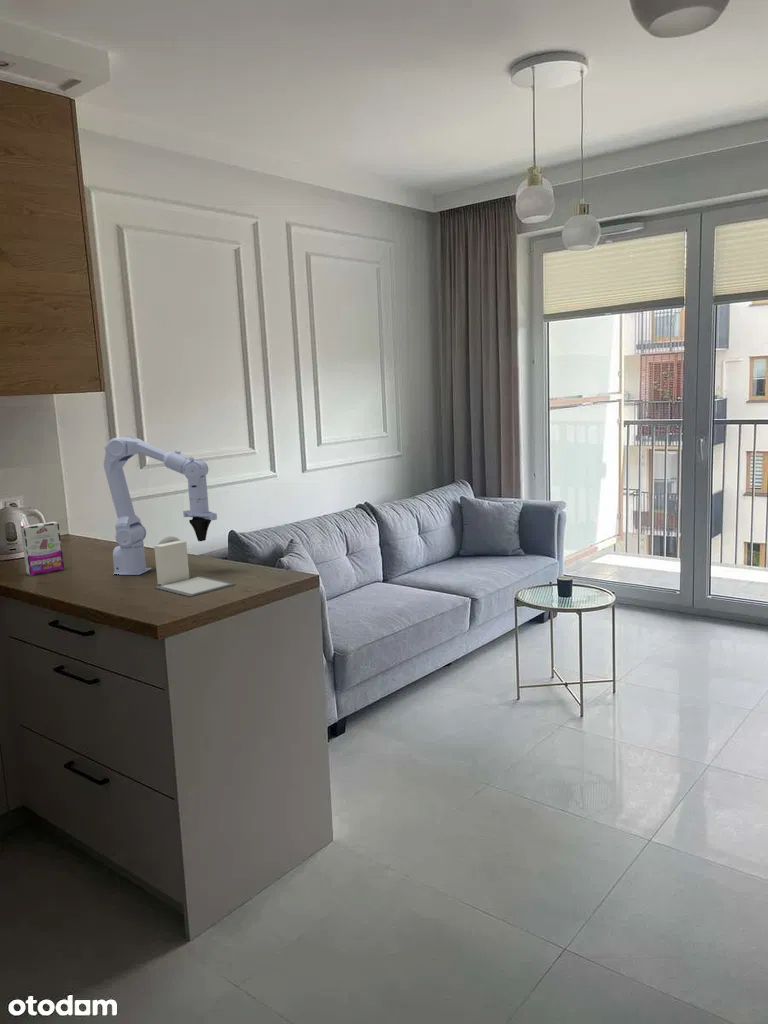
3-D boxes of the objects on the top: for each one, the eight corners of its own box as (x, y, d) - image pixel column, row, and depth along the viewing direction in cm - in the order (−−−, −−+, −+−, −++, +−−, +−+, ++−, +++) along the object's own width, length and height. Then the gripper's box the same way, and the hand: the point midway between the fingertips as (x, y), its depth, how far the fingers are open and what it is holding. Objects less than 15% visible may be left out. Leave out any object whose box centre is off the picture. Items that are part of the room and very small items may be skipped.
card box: (157, 584, 231) (153, 545, 229) (183, 577, 238) (179, 540, 236) (164, 585, 229) (160, 546, 227) (189, 579, 236) (186, 541, 234)
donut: (160, 569, 252) (158, 539, 250) (155, 567, 254) (152, 538, 253) (187, 563, 259) (184, 534, 257) (182, 562, 261) (179, 533, 260)
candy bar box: (60, 567, 261) (54, 520, 258) (64, 570, 257) (59, 522, 254) (25, 573, 254) (19, 525, 251) (29, 576, 250) (23, 527, 247)
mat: (154, 588, 226) (154, 586, 226) (200, 577, 238) (199, 575, 238) (189, 597, 214) (189, 595, 214) (235, 584, 226) (235, 583, 226)
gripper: (174, 498, 242) (177, 540, 244) (202, 501, 233) (206, 545, 235) (192, 496, 248) (195, 536, 250) (220, 498, 239) (224, 541, 241)
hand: (201, 540), depth 243 cm, fingers closed
